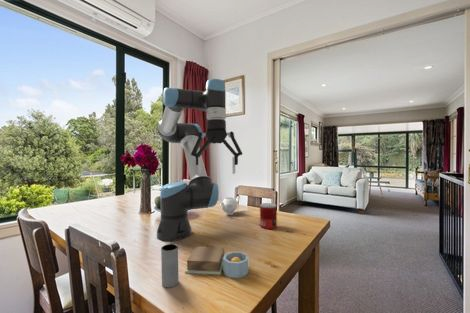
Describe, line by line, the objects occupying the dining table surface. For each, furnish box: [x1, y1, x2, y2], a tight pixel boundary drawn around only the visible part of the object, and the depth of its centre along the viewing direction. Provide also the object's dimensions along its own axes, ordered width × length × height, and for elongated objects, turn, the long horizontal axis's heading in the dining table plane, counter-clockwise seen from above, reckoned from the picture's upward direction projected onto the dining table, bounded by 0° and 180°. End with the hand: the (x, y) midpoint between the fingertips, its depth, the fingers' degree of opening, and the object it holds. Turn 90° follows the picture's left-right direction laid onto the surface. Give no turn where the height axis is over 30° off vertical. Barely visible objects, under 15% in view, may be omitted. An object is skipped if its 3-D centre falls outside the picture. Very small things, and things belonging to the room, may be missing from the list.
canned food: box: [259, 202, 278, 230], centre depth 108 cm, size 8×8×11 cm
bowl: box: [222, 251, 249, 279], centre depth 68 cm, size 8×8×4 cm
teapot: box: [218, 195, 241, 215], centre depth 133 cm, size 10×20×9 cm, turn 144°
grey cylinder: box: [160, 243, 180, 288], centre depth 62 cm, size 4×4×10 cm
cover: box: [186, 246, 225, 272], centre depth 72 cm, size 10×10×3 cm
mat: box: [184, 261, 223, 275], centre depth 72 cm, size 11×11×1 cm
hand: (216, 173), depth 87 cm, fingers open, 13 cm apart
